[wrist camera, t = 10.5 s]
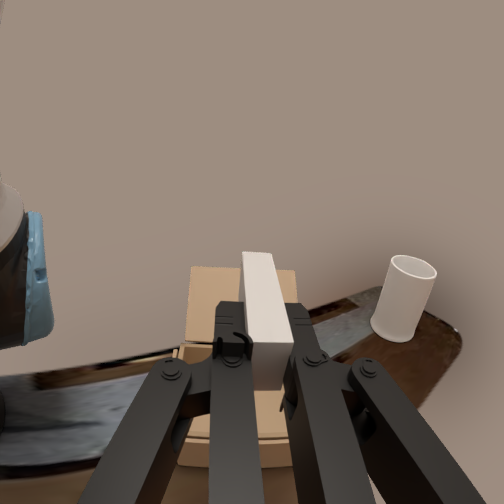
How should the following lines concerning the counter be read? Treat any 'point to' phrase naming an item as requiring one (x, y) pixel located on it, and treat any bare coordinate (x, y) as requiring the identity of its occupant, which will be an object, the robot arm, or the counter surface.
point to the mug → (403, 298)
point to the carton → (267, 415)
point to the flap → (221, 297)
